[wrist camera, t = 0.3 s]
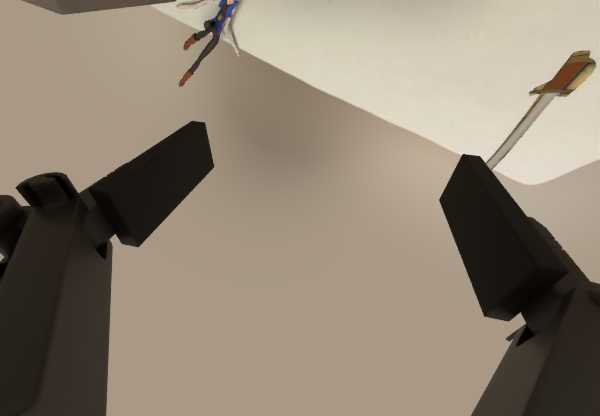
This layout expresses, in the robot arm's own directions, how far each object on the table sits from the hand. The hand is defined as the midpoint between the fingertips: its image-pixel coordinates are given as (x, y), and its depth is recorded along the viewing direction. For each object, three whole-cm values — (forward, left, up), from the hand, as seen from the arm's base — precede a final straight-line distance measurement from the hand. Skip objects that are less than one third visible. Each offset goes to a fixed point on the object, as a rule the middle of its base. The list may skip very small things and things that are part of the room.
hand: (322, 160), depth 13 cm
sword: (-9, +33, -27) cm, 44 cm away
